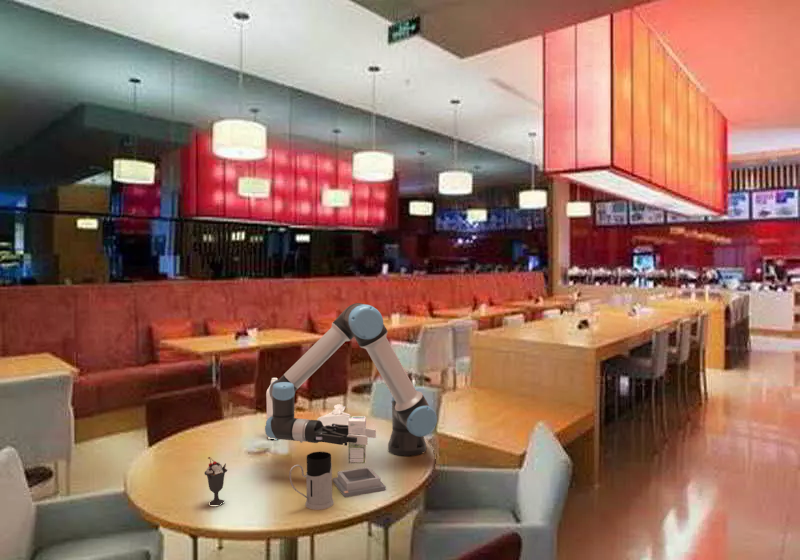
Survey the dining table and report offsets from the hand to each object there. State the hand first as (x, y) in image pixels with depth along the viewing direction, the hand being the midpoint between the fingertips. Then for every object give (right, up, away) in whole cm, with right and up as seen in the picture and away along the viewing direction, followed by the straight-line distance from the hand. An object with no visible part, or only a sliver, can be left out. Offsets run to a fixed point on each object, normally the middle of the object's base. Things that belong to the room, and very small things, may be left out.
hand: (371, 436), depth 185 cm
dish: (-20, -16, +66) cm, 70 cm away
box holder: (-4, -17, +2) cm, 18 cm away
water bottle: (-44, -16, +56) cm, 73 cm away
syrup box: (-5, -9, +2) cm, 10 cm away
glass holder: (-18, -18, -13) cm, 28 cm away
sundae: (-48, -18, -10) cm, 52 cm away
